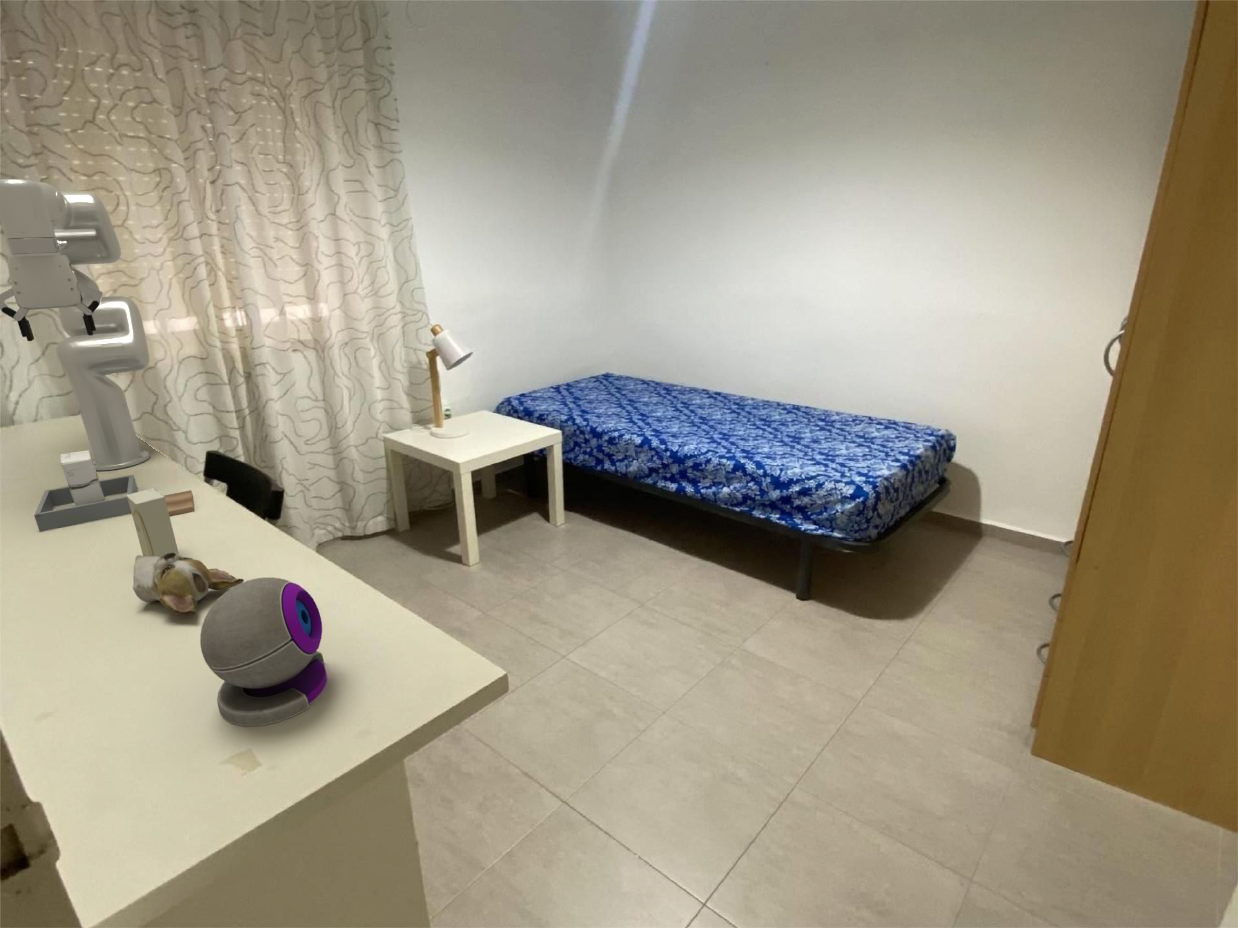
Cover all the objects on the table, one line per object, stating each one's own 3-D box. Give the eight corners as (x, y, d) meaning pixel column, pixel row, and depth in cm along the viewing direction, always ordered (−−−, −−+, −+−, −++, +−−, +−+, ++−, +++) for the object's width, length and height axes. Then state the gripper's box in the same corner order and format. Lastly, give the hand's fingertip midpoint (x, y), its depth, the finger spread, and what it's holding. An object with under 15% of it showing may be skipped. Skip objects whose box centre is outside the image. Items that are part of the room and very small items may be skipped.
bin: (50, 505, 145) (45, 490, 143) (137, 489, 152) (133, 474, 151) (39, 531, 132) (33, 515, 131) (135, 512, 140) (131, 496, 139)
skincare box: (143, 558, 120) (124, 494, 116) (171, 549, 123) (154, 487, 119) (153, 569, 116) (134, 503, 112) (182, 559, 119) (164, 495, 115)
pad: (143, 504, 144) (141, 499, 144) (192, 494, 148) (191, 490, 148) (142, 521, 135) (140, 517, 135) (194, 511, 140) (193, 506, 139)
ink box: (108, 511, 141) (91, 458, 137) (78, 518, 138) (60, 464, 134) (105, 499, 147) (89, 448, 143) (76, 506, 144) (59, 453, 140)
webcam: (320, 716, 80) (296, 606, 75) (202, 735, 78) (168, 622, 73) (339, 652, 92) (319, 553, 87) (237, 666, 90) (210, 565, 85)
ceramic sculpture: (164, 531, 110) (240, 545, 106) (175, 578, 113) (250, 593, 109) (100, 562, 100) (182, 579, 96) (115, 612, 103) (194, 631, 99)
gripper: (91, 246, 139) (114, 331, 144) (-20, 251, 130) (9, 341, 136) (88, 246, 133) (112, 334, 138) (-29, 250, 124) (2, 344, 130)
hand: (61, 337), depth 137 cm, fingers open, 9 cm apart
